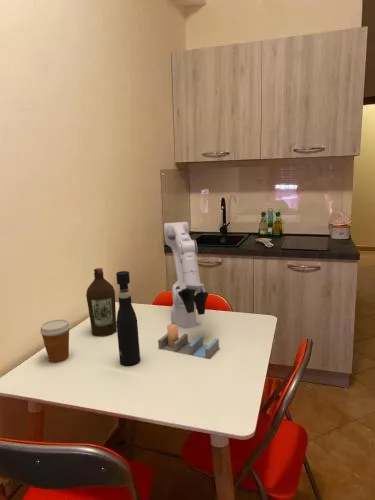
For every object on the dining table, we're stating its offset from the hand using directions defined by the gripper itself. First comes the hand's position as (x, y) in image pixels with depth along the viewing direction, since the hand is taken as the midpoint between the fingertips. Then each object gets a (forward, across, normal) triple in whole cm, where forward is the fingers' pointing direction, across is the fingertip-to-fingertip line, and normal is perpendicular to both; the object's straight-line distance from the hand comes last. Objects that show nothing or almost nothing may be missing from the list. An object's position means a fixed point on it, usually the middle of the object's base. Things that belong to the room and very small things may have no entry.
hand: (196, 313), depth 124 cm
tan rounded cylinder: (+8, +2, +12) cm, 15 cm away
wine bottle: (+13, -11, +20) cm, 27 cm away
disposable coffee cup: (+8, -18, +44) cm, 48 cm away
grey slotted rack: (+11, +3, +6) cm, 13 cm away
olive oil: (-1, +3, +42) cm, 42 cm away
